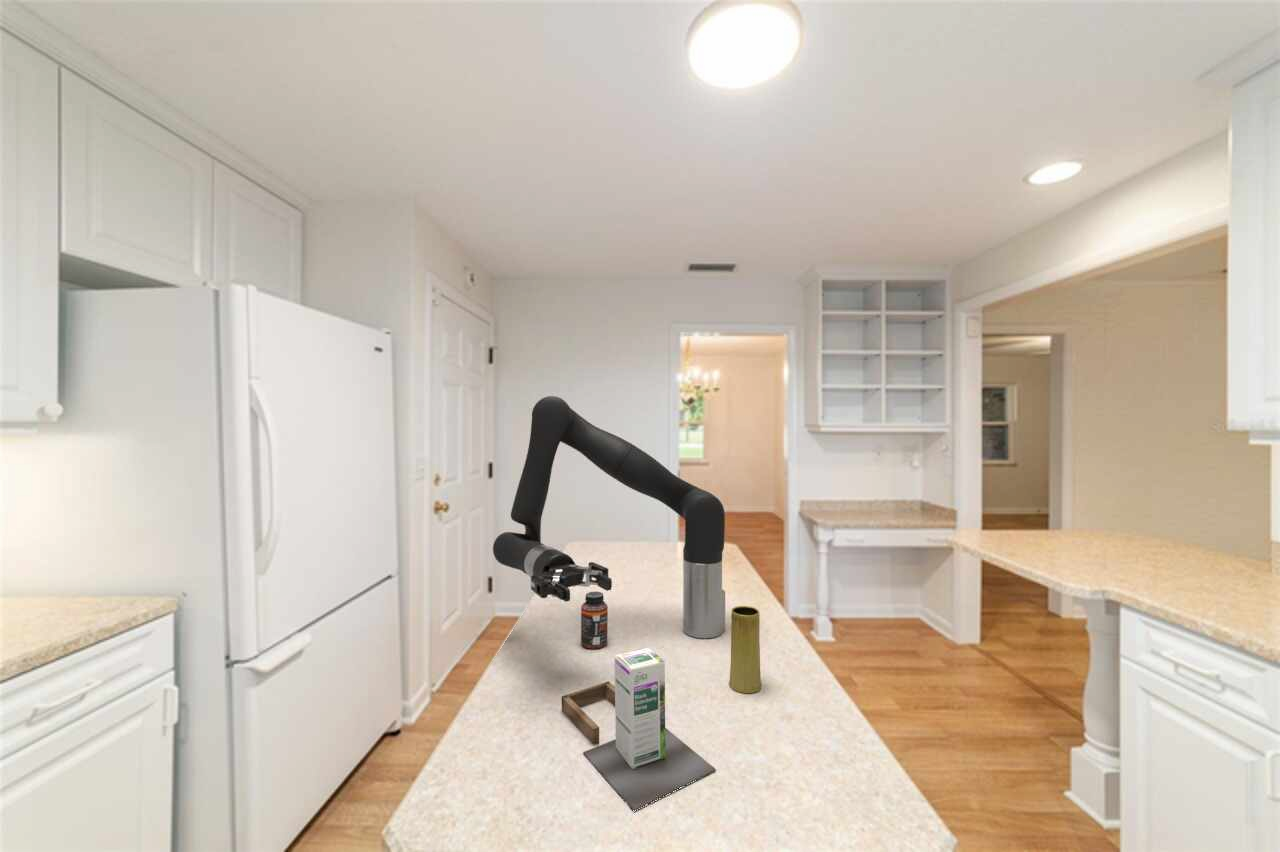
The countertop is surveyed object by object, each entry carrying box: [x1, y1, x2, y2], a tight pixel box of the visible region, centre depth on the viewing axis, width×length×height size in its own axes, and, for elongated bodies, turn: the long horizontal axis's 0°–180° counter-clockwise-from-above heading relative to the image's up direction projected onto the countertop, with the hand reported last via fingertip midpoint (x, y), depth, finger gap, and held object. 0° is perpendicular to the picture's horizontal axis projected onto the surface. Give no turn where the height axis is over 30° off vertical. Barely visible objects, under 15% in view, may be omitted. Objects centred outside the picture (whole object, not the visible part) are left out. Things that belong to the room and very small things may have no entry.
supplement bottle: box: [580, 591, 609, 650], centre depth 117 cm, size 6×6×11 cm
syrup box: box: [614, 647, 666, 769], centre depth 78 cm, size 6×6×14 cm
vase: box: [728, 605, 763, 694], centre depth 98 cm, size 6×6×14 cm
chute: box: [561, 681, 717, 811], centre depth 81 cm, size 26×14×2 cm, turn 34°
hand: (589, 590), depth 93 cm, fingers open, 8 cm apart
